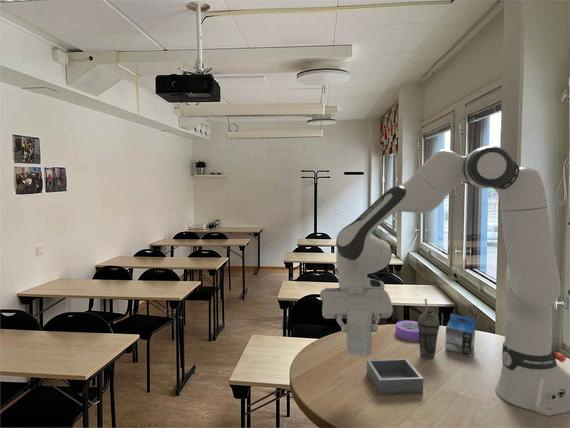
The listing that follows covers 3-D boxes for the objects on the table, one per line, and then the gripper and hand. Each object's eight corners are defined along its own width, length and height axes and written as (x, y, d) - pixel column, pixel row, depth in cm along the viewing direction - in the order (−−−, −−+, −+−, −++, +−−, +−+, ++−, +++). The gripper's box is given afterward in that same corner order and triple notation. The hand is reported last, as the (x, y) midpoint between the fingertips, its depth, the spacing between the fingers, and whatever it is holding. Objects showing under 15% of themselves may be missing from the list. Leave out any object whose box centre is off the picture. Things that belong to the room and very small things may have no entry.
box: (406, 372, 127) (406, 358, 127) (423, 393, 115) (423, 378, 114) (366, 374, 126) (367, 360, 126) (379, 395, 114) (379, 380, 113)
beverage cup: (440, 361, 134) (442, 303, 133) (417, 359, 136) (419, 301, 134) (436, 352, 142) (438, 296, 140) (415, 350, 143) (416, 295, 141)
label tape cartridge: (444, 349, 144) (445, 315, 143) (448, 346, 147) (449, 313, 146) (470, 356, 138) (472, 321, 137) (474, 353, 141) (475, 318, 140)
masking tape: (433, 337, 156) (434, 327, 155) (412, 343, 150) (412, 333, 149) (410, 327, 166) (410, 318, 165) (389, 333, 160) (389, 323, 160)
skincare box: (371, 352, 115) (372, 311, 114) (366, 358, 111) (367, 316, 110) (351, 348, 118) (352, 308, 117) (345, 353, 115) (346, 312, 114)
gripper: (320, 282, 120) (323, 326, 111) (389, 282, 120) (398, 326, 111) (319, 293, 125) (322, 336, 116) (385, 292, 125) (393, 335, 116)
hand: (359, 331), depth 114 cm, fingers closed on skincare box, 7 cm apart
